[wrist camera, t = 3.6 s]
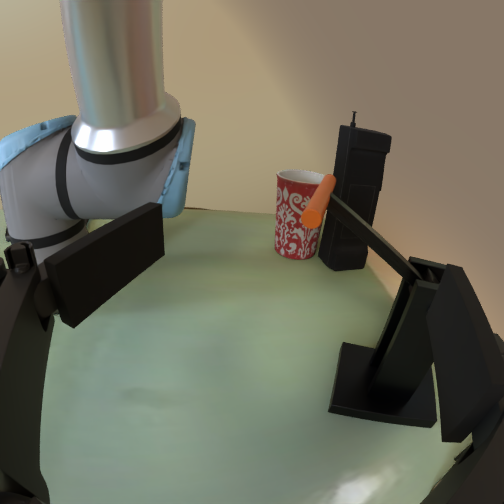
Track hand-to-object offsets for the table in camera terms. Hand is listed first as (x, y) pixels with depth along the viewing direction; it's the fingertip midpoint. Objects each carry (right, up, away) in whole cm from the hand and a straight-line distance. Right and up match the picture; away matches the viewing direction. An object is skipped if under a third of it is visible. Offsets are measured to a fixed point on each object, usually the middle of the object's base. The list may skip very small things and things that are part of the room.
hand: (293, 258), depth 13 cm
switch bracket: (+12, -14, +14) cm, 23 cm away
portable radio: (+14, -1, +39) cm, 41 cm away
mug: (+7, +1, +42) cm, 43 cm away
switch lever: (+8, 0, +9) cm, 12 cm away
